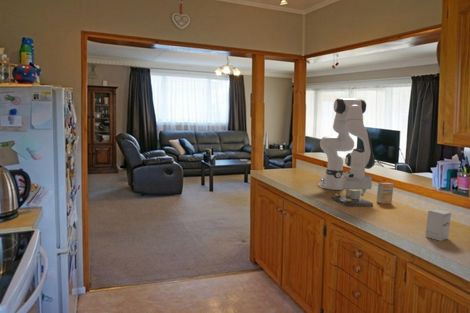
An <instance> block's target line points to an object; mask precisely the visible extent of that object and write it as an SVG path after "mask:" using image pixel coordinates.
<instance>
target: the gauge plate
mask: <svg viewBox="0 0 470 313" xmlns="http://www.w3.org/2000/svg"><path fill="white" fill-rule="evenodd" d="M330 199H331V200H332V199H333V200H332V201H334V200H335V202H337V203H338V204H341V205H343V206H344V207H374V203H373V202H371V201H370V200H367V199H365V198H364V197H363V198H362V197H360V199H352V198H349V197H347V196H346V195H341V193H338V192H335V195H331V197H330Z"/></svg>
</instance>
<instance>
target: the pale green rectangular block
mask: <svg viewBox="0 0 470 313" xmlns="http://www.w3.org/2000/svg"><path fill="white" fill-rule="evenodd" d="M360 194H361V190H360V191H359V190H358V189H354V190H351V198H352V199H360V198H361V195H360Z"/></svg>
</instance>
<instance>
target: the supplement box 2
mask: <svg viewBox="0 0 470 313" xmlns="http://www.w3.org/2000/svg"><path fill="white" fill-rule="evenodd" d="M451 217H452V212H451V211H447V210H441V209H437V208H436V209H430V210H428V211H427V217H426V218H427V220H426V226H425V227H426V228H425V238H428V237H429V239H431V238H432V240H435V239H436V241H438V240H439V242H441V241H445V240H448V239H449V234H450V227H451V220H452V219H451Z"/></svg>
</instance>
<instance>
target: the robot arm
mask: <svg viewBox="0 0 470 313" xmlns="http://www.w3.org/2000/svg"><path fill="white" fill-rule="evenodd" d="M366 110H367V103H366V101H365V100H364V99H359V98H345V97H344V98H342V97H340V98H336V99H335V100H334V103H333V111H334V112H335V115H334V116H335V117H334V119H333V123H332V124H333V125H332V129H333V131H334V132H336V134H337V135H338V136H333V135H329V136H323V137H322V138H321V139H320V140H319V146H320V148H321V150H322V151H323V152H324V153H325V154H326V158H327V168H326V170H325V174H324V175H323V176H322V177H321V178H320V182H319V183H318V184H317V185H318V186H319V187H320V188H321V189H326V190H334V191H335V190H336V191H341V190H345V193H346V192H347V196H350V194H351V193H349V189H354V190H362V192H360V197H364V196H365V193H366V192H367V190H371V189H372V186H373V185H372V184H373V182H372V180H373V178H372V177H373V176H372V175H371V174H365V172H366V169H367V170H370V169H372V168H373V167H374V166H375V163H376V158H375V156H374V152H373V151H374V150H373V146H372V141H371V140H372V139H371V135H370V132H369V130H368V129H367V128H366V127H365V124H364V114H365V112H366ZM350 135H353V137H354V136H355V137H356V138H358V139H360V141H361V140H362V142H363V147H364V148H357V147H356V148H354V147H355V141H354V139H353V138H352V137H351V136H350ZM337 152H347V154H346V155H345V160H344V159H343V158H342V157H341V156H339V155H338V153H337ZM348 152H349V153H348ZM344 164H346V166H347V167H349V170H347V171H346V172H344V170H343V169H344V168H343V167H344Z"/></svg>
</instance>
